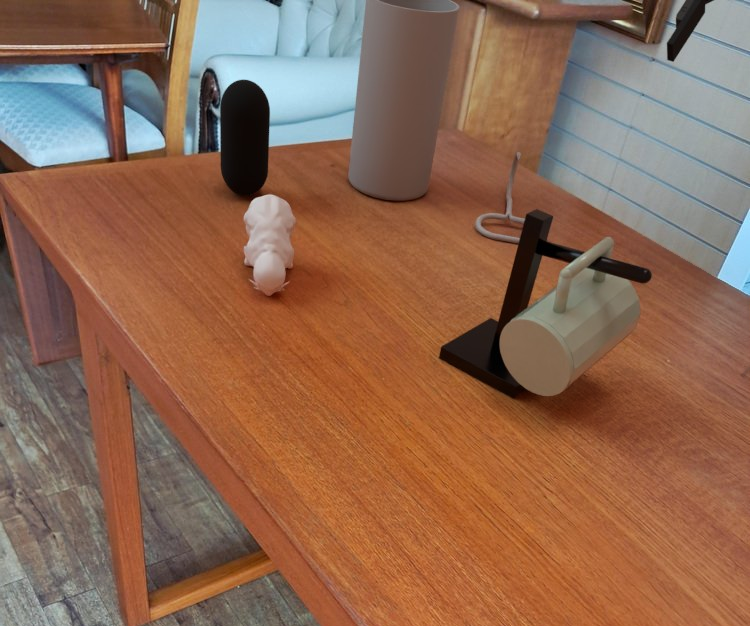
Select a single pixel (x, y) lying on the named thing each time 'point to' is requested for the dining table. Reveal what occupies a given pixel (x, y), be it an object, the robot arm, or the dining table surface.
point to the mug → (570, 325)
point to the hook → (508, 212)
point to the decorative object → (244, 137)
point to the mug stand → (521, 303)
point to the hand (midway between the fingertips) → (726, 70)
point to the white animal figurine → (269, 242)
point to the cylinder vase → (400, 95)
